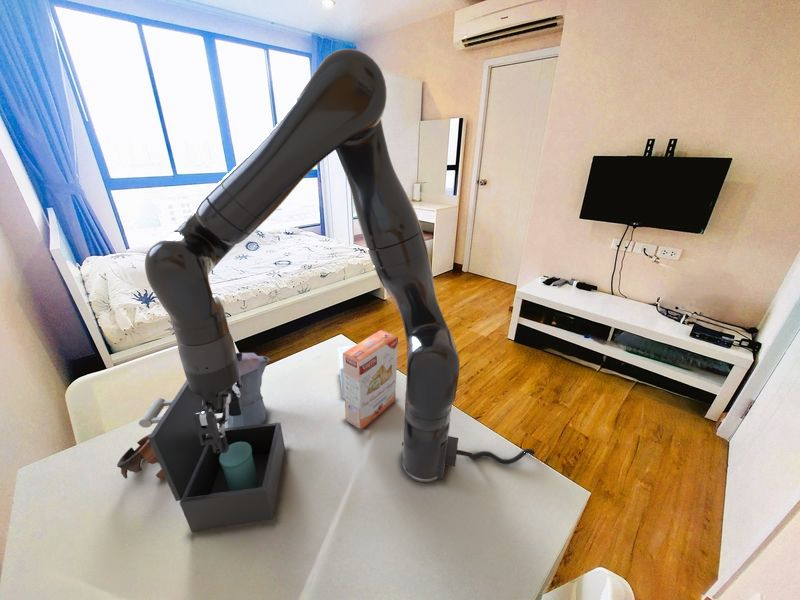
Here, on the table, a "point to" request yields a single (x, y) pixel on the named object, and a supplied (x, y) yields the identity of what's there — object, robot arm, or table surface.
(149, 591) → the table surface
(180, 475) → the lid
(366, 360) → the cracker box
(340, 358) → the cosmetics box
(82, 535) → the table surface
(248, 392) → the moka pot
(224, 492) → the open box
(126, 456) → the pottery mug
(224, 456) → the container
